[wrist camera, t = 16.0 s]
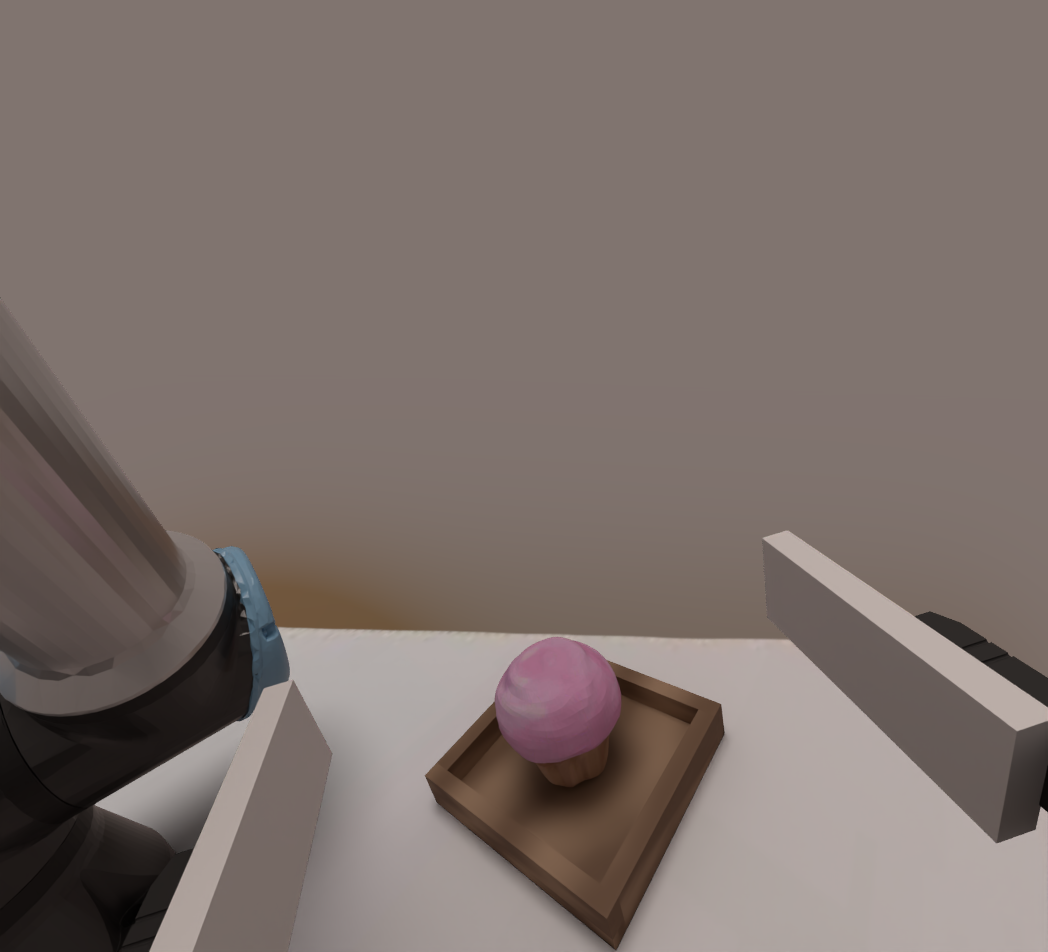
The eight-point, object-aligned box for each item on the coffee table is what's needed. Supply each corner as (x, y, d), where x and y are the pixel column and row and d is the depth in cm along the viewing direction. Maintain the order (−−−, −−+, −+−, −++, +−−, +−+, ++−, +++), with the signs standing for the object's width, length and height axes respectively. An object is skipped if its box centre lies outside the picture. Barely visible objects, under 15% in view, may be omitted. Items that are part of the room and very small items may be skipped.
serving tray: (436, 802, 39) (424, 775, 38) (559, 663, 49) (552, 639, 48) (616, 950, 28) (606, 918, 27) (724, 733, 38) (721, 704, 37)
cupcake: (604, 698, 43) (582, 602, 39) (656, 786, 35) (634, 677, 31) (505, 739, 41) (472, 644, 38) (535, 842, 33) (498, 734, 30)
